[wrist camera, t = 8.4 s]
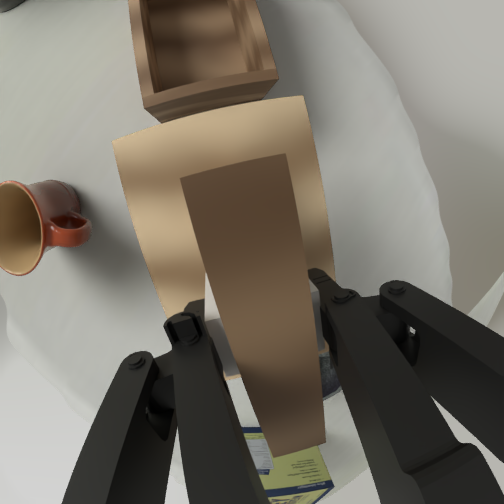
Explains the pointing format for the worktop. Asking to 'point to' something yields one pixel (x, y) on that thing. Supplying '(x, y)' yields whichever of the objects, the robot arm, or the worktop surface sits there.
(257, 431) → the protein box
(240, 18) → the box
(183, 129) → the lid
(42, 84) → the worktop surface
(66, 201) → the mug
